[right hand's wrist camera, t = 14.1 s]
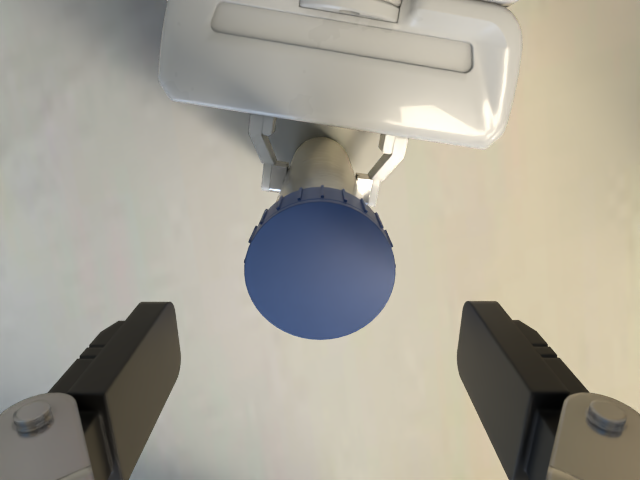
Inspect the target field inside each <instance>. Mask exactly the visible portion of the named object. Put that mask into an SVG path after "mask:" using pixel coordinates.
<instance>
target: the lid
mask: <svg viewBox="0 0 640 480" xmlns="http://www.w3.org/2000/svg"><path fill="white" fill-rule="evenodd" d="M249 243H250V245H249V248H248V251H247V254H246V258H245V260H244V263H245V265H244V275H245V282H246V286H247V290H248V293H249V295H250V297H251V300H252V302H253V303H254V305H255V306H256V308H257V309H258V311H259V312H260V313H261V314H262V315H263V316H264V317H265V318H266V319H267V320H268V321H269V322H270V323H272V324H273V325H274V326H276V327H277V328H279V329H281V330H282V331H284V332H287V333H289V334H291V335H294V336H298V337H301V338H307V339H316V340H324V339H333V338H339V337H342V336H346V335H349V334H351V333H353V332H356V331H357V330H359V329H361V328H363V327H364V326H366V325H367V324H368V323H370V322H371V321H372V320H373V319H374V318H375V317H376V316H377V315H378V314H379V313H380V312H381V310H382V309H383V308H384V306H385V305H386V303H387V301H388V299H389V297H390V295H391V293H392V289H393V286H394V281H395V268H396V265H395V260H394V255H393V252H392V249H391V247H393V245H392V243H391V240H390V238H389V236H388V233H387V231H386V230H384V229H383V225H382V222H381V220H380V218H379V215H378V214H377V212H376V213H374V212H373V211H372V210H371V208H370V207H369V206H368V205H366V204H365V202H364V199H362V198H361V199H359V198H357V197H356V196H354V195H352V194H350V193H348V192H345V189H342V190H339V189H335V188H329V187H324V185H321V187H310V188H305V189H303V188H302V187H301V188H299V190H298V191H295V192H292V193H290V194H288V195H286V196H284V197H283V195H282V196H281V197H280V199H279V200H278V201H277V202H276V203H275V204H274V205H272V206H271V207H270V208H269V210H268V209H266V210H265V211H264V214H263V216H262V218H261V220H260V223H259V225H258V226H255V228H254V230H253V233H252V235H251V237H250V239H249Z"/></svg>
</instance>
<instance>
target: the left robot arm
mask: <svg viewBox="0 0 640 480" xmlns="http://www.w3.org/2000/svg"><path fill="white" fill-rule="evenodd" d="M517 1H518V0H166V2H167V6H166V12H165V17H164V23H163V29H162V36H161V44H160V53H159V64H158V80H159V83H160V85H161V87H162V88H163V90H164V91H165V93H166V94H167V96H168V97H169V99H170V100H172V101H175V102H180V103H187V104H193V105H200V106H206V107H212V108H219V109H225V110H232V111H238V112H245V113H250V121H249V132H248V133H249V136H250V138H251V140H252V142H253V145H254V147H255V149H256V151H257V153H258V156H259V158H260V160H261V162H262V163H264V167H263V177H262V186H261V188H262V190H263V191H268V192H269V191H270V192H277V193H280V190H281V188H282V185H283V182H284V180H285V177H286V174H287V172H288V168H289V162H283V161H277V159H276V156H275V154H274V151H273V149H272V146H271V144H270V141H269V139H268V136H270V135H271V134H272V133H273V132H274V131H275V127H276V119H277V118H283V119H289V120H296V121H302V122H309V123H315V124H322V125H328V126H334V127H341V128H347V129H354V130H360V131H367V132H373V133H379V134H381V135H380V141H379V146H378V147H379V148H380V150H381V151H382V152H383V153H384V154H383V156H382V157H381V158H380V159H379V161H378V162H377V163H376V164H375V165H374V167H373V168H372V169H371V170H370V172H369V173H368V174H363V173H356V175H355V177H356V180H357V182H358V185H359V188H360V191H361V194H362V196H363V199H364V202H365V204H366V205H368V206H371V207H375V206H376V203H377V198H378V193H379V188H380V183H381V181H384V180H385V178H386V177H387V176H388V175H389V174H390V173H391V172H392V171H393V169H394V168H395V167H396V166H397V165H398V164H399V163H400V162H401V160H402V159H403V158H404V156H405V152H406V147H407V143H408V138H411V139H418V140H424V141H431V142H437V143H444V144H450V145H456V146H463V147H469V148H476V149H482V150H483V149H487V148H488V147H490V146H491V145H492V144H493V143H495V142H496V141H497V140H498V139H499V138H500V137H501V136H502V135H503V134H504V131H505V129H506V126H507V123H508V120H509V116H510V113H511V109H512V105H513V100H514V96H515V91H516V86H517V81H518V76H519V70H520V63H521V56H522V46H523V40H522V31H521V27H520V24H519V22H518V20H517V18H516V17H515V15H514V14H513V13H512V12H511V11H510V10H508V9H507V7H509V6H510V5H512V4H514V3H515V2H517Z"/></svg>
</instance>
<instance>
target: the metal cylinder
mask: <svg viewBox="0 0 640 480" xmlns="http://www.w3.org/2000/svg"><path fill="white" fill-rule="evenodd" d="M321 185H324V187H329V188H335V189H339V190H342V189H345V192H348V193H350V194H352V195H354V196H356V197H357V198H359V199H361V198H362V199H363V196H362V194H361V191H360V188H359V185H358V182H357V180H356V177H355V174H354V171H353V169H352V166H351V163H350V160H349V158H348V155H347V153H346V151H345V149H344V148H343V147H342V146H341V145H340V144H339V143H338V142H336V141H334V140H332V139H330V138H326V137H316V138H312V139H309V140H307V141H305V142H304V143H302V144H301V145H300V146H299V147H298V149H297V150H296V152H295V154H294V156H293V159H292V161H291V164H290V167H289V169H288V172H287V174H286V177H285V180H284V182H283V185H282V188H281V190H280V193H279V196H278V198H277V201H278V200H279V199H280V197H281V196H282V195H283V197H284V196H286V195H288V194H290V193H292V192H295V191H298V190H299V188H301V187H302V188H303V189H305V188H310V187H321ZM277 201H276V202H277Z"/></svg>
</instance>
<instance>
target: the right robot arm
mask: <svg viewBox="0 0 640 480" xmlns="http://www.w3.org/2000/svg"><path fill="white" fill-rule="evenodd" d="M180 363H181V353H180V345H179V337H178V330H177V322H176V314H175V308H174V305H173V304H172V303H171V302H141V303H139V304H138V305H137V307H136V308H135V309H134V310H133V312H132V313H131V314H130V315H129V317H128V318H127V319H126V320H125V321H118V322H116V323H114V324H113V325H111V326H110V327H108V328H106V329H105V330H103V331H102V332H100V333H99V335H98V336H97V337H96V338H95V339H94V340H93V341H92V343H91V344H90V345H89V348H86V349H85V351H84V352H83V353H82V354H81V355H80V359H77V360H76V361H75V362H74V363H73V364H72V365H71V367H70V368H69V369H68V370H67V371H66V372H65V373H64V375H63V376H62V377H61V378H60V379H59V380H58V382H57V383H56V384H55V385H54V386H53V387H52V388H51V390H50V391H49V392H48V393H45V394H40V395H36V396H33V397H30V398H27V399H25V400H22V401H20V402H18V403H16V404H14V405H13V406H11V407H9V408H8V409H6V410H5V411H4V412H2V413H1V414H0V480H129V478H130V476H131V473H132V471H133V469H134V467H135V465H136V463H137V461H138V459H139V457H140V455H141V453H142V451H143V449H144V446H145V444H146V442H147V440H148V438H149V436H150V434H151V432H152V430H153V428H154V426H155V424H156V421H157V419H158V417H159V415H160V413H161V411H162V409H163V407H164V405H165V403H166V401H167V399H168V396H169V394H170V392H171V390H172V388H173V386H174V384H175V382H176V380H177V378H178V375H179V370H180ZM457 365H458V371H459V375H460V377H461V380H462V382H463V384H464V386H465V388H466V390H467V392H468V394H469V397H470V399H471V401H472V403H473V405H474V407H475V409H476V411H477V413H478V415H479V418H480V420H481V422H482V424H483V426H484V428H485V430H486V432H487V434H488V437H489V439H490V441H491V443H492V445H493V447H494V449H495V451H496V453H497V456H498V458H499V460H500V462H501V464H502V466H503V468H504V470H505V472H506V475H507V477H508V479H509V480H640V414H639V413H638V412H636V411H635V410H634V409H632V408H631V407H629V406H627V405H626V404H624V403H622V402H620V401H618V400H615V399H613V398H610V397H607V396H604V395H600V394H595V393H589V391H588V390H587V389H586V388H585V387H584V386H583V384H582V383H581V382H580V381H579V380H578V379H577V378H576V376H575V375H574V374H573V373H572V372H571V371H570V369H569V368H568V367H567V366H566V365H565V364H564V362H563V361H562V360H561V359H560V358H557V354H556V353H555V352H554V351H553V350H552V349H551V347H548V344H547V343H546V342H545V341H544V339H543V338H542V337H541V336H540V335H539V334H538V332H537V331H535V330H534V329H532V328H530V327H529V326H527V325H526V324H524V323H522V322H521V321H519V320H512V319H511V318H510V317H509V316H508V314H507V313H506V312H505V311H504V309H503V308H502V307H501V306H500V304H499V303H498V302H496V301H467V302H465V304H464V306H463V311H462V319H461V327H460V334H459V342H458V350H457Z"/></svg>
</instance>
